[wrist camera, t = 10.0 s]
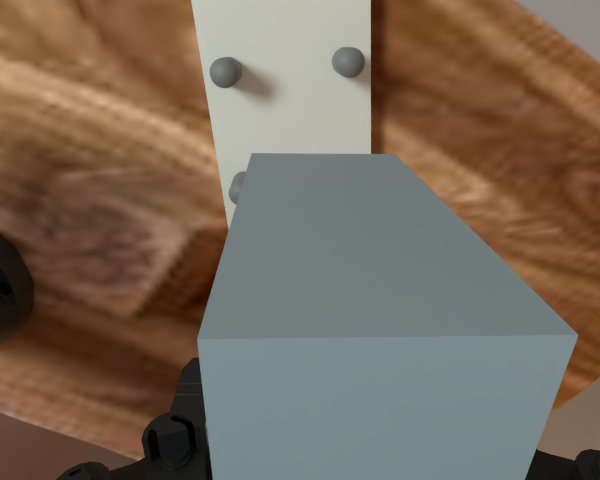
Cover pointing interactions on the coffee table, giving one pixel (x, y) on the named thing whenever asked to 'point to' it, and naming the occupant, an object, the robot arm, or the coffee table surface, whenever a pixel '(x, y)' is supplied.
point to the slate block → (369, 333)
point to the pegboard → (284, 80)
